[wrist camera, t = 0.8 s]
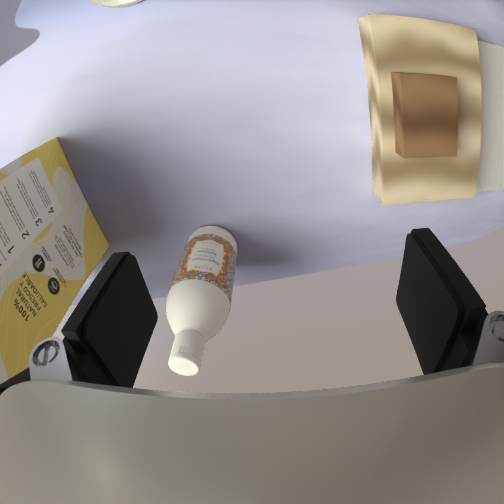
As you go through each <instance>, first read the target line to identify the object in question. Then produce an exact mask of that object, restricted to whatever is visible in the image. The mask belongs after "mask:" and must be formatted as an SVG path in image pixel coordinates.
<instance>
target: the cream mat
mask: <svg viewBox="0 0 504 504" xmlns="http://www.w3.org/2000/svg"><path fill="white" fill-rule="evenodd" d="M478 48H479V58H480V71H481V92H482V125H481V147H480V160H479V171H478V180H477V188H476V192H483V191H499V190H504V47H502V46H498V45H495V44H491V43H487V42H483V41H479V40H478Z"/></svg>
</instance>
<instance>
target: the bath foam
mask: <svg viewBox="0 0 504 504" xmlns="http://www.w3.org/2000/svg"><path fill="white" fill-rule="evenodd" d="M236 260H237V243H236V241H235V239H234V237H233V236H232V235H231V234H230V233H229V232H228V231H226V230H225V229H223V228H221V227H217V226H204V227H201V228H198V229H197V230H195V231H194V232H193V233H192V234H191V235H190V237H189V239H188V242H187V244H186V246H185V249H184V252H183V254H182V257H181V260H180V262H179V265H178V267H177V270H176V273H175V276H174V278H173V281H172V284H171V287H170V289H169V292H168V296H167V302H166V313H167V318H168V321H169V324H170V326H171V328H172V330H173V332H174V334H175V340H174V343H173V347H172V350H171V354H170V358H169V367H170V368H171V369H172V370H173V371H174V372H176V373H178V374H181V375H186V376H191V375H195V374H197V373H198V372H199V370H200V367H201V361H202V355H203V350H204V343H206V342H207V341H208V340H210V339H211V338H213V337H214V336H215V335H216V334H217V333H218V332H219V331H220V330H221V329H222V327H223V326H224V324H225V322H226V320H227V318H228V315H229V311H230V305H231V298H232V290H233V283H234V275H235V267H236Z"/></svg>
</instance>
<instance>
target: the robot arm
mask: <svg viewBox="0 0 504 504" xmlns="http://www.w3.org/2000/svg"><path fill="white" fill-rule="evenodd" d="M90 1H91V2H93V3H95V4H97V5H100V6H104V7H109V8H120V7H125V6H130V5H133V4H136V3H138V2H140V1H142V0H90ZM396 301H397V306H398V309H399V311H400V313H401V316H402V318H403V321H404V323H405V326H406V328H407V331H408V333H409V336H410V339H411V341H412V344H413V346H414V349H415V351H416V354H417V357H418V360H419V363H420V365H421V368H422V371H423V374H424V375H422V376H416V377H410V378H405V379H399V380H392V381H386V382H380V383H373V384H366V385H358V386H350V387H342V388H332V389H321V390H309V391H294V392H276V393H194V392H193V393H192V392H173V391H159V390H147V389H136V388H133V385H134V382H135V379H136V376H137V374H138V371H139V368H140V365H141V362H142V360H143V357H144V354H145V351H146V349H147V346H148V343H149V341H150V338H151V336H152V333H153V330H154V328H155V325H156V323H157V318H158V316H157V311H156V309H155V306H154V304H153V301H152V299H151V296H150V294H149V291H148V289H147V286H146V284H145V281H144V278H143V276H142V273H141V271H140V268H139V265H138V262H137V260H136V258H135V256H133V255H131V254H130V253H129V252H119V253H113V254H112V255H111V257H110V258H109V260H108V261H107V262H106V264H105V265H104V267H103V268H102V269H101V271H100V272H99V274H98V275H97V277H96V278H95V279H94V281H93V282H92V284H91V285H90V287H89V288H88V290H87V291H86V293H85V294H84V296H83V297H82V299H81V300H80V302H79V303H78V305H77V306H76V308H75V309H74V311H73V313H72V314H71V316H70V317H69V319H68V321H67V322H66V324H65V325H64V327H63V329H62V330H61V332H62V333H63V335H64V336H65V338H64V339H63V341H62V340H61V339H59V338H58V337H49V338H46V339H44V340H42V341H41V342H39V343H38V344H37V345H36V346H35V347H34V348H33V350H32V351H31V353H30V356H29V367H28V368H27V369H25V370H23V371H22V372H20V373H18V374H17V375H15V376H13V377H12V378H10V379H8V380H6V381H5V382H3V383H1V384H0V504H504V311H494V312H491V313H490V314H488V313H487V311H486V310H485V307H486V305H485V303H484V302H483V300H482V299H481V297H480V296H479V294H478V293H477V291H476V290H475V289H474V287H473V285H472V284H471V283H470V281H469V280H468V278H467V277H466V276H465V274H464V273H463V271H461V269H460V268H459V266H458V265H457V263H456V262H455V261H454V259H453V258H452V257H451V255H450V254H449V253H448V251H447V250H446V249H445V248H444V246H443V245H442V244H441V242H440V241H439V240H438V239H437V237H436V236H435V235H434V234H433V233H432V231H431V230H430V229H429V228H420V229H413V230H412V231H411V233H410V234H407V237H406V243H405V250H404V257H403V263H402V269H401V274H400V280H399V285H398V290H397V296H396Z"/></svg>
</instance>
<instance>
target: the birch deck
mask: <svg viewBox="0 0 504 504" xmlns="http://www.w3.org/2000/svg"><path fill="white" fill-rule="evenodd" d="M358 23H359V28H360V34H361V41H362V47H363V54H364V61H365V69H366V78H367V87H368V97H369V108H370V122H371V138H372V163H373V193H374V194H375V196H376V197H377V198H378V200H379V201H380V203H381V204H382V205H383V206H387V205H397V204H407V203H417V202H428V201H439V200H450V199H462V198H475V195H476V188H477V180H478V171H479V160H480V147H481V125H482V92H481V71H480V58H479V48H478V40H477V32H476V29H474V28H470V27H466V26H461V25H456V24H452V23H446V22H441V21H435V20H429V19H422V18H414V17H405V16H395V15H382V14H367V15H365V16H363V17H360V18H358ZM391 72H407V73H424V74H437V75H447V76H452V77H457V88H458V147H457V157H430V158H407V159H403V158H402V157H401V156H400V155H398V154H397V153H396V152H395V124H394V105H393V92H392V80H391Z"/></svg>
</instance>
